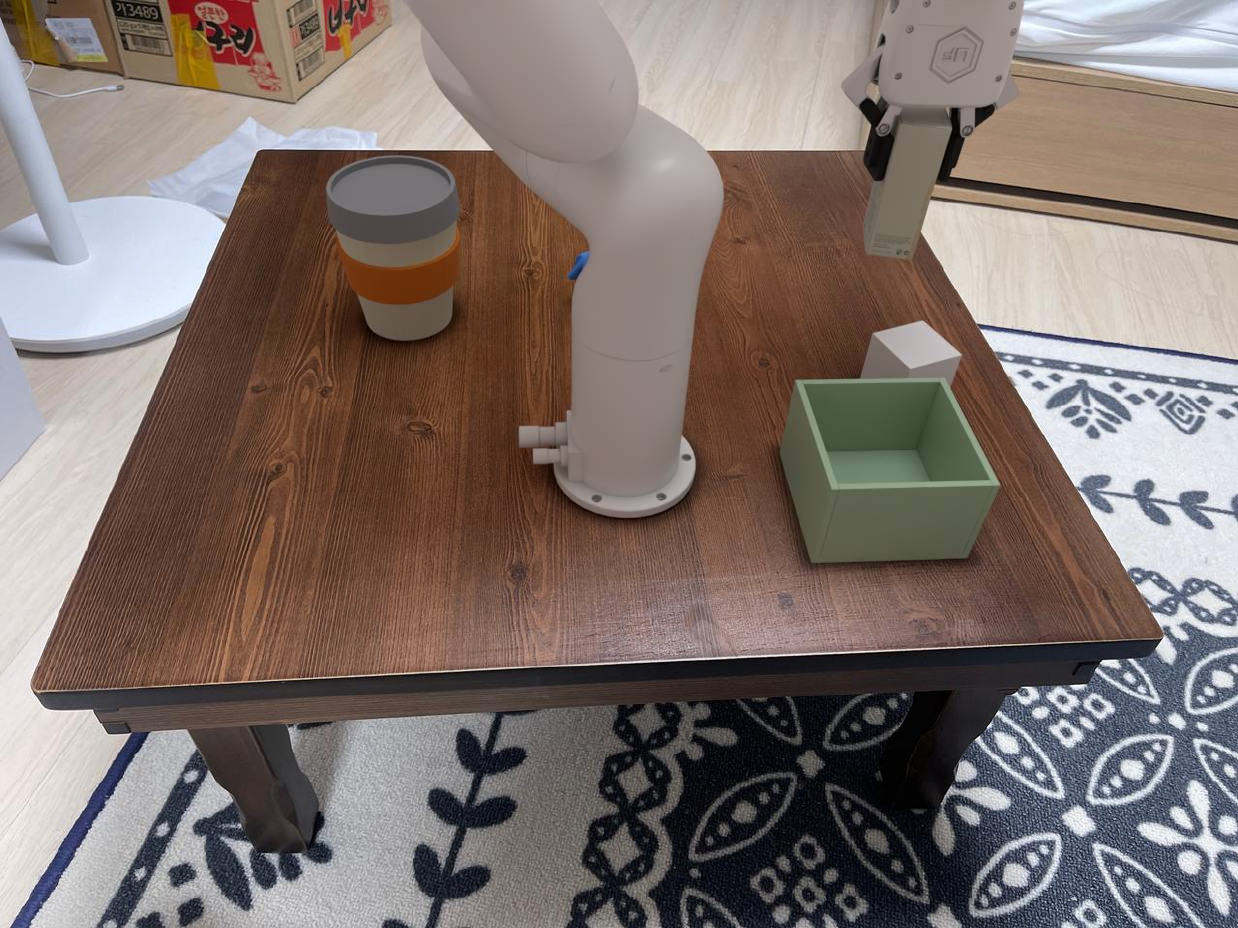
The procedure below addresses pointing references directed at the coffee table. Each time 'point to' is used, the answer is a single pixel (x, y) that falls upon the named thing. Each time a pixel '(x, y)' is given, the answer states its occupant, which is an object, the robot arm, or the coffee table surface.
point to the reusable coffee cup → (398, 241)
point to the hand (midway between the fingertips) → (906, 172)
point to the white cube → (910, 354)
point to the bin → (884, 470)
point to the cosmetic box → (906, 182)
